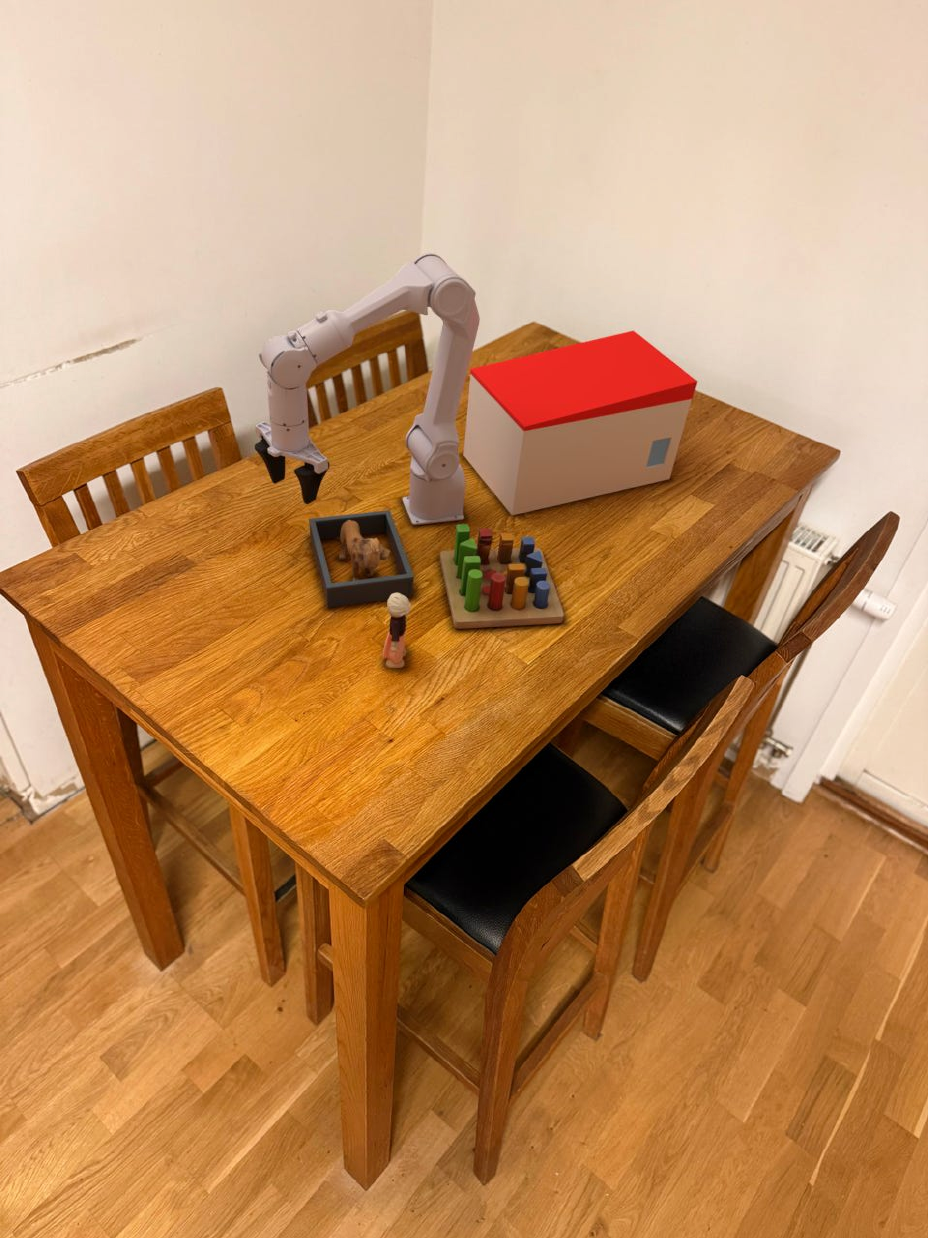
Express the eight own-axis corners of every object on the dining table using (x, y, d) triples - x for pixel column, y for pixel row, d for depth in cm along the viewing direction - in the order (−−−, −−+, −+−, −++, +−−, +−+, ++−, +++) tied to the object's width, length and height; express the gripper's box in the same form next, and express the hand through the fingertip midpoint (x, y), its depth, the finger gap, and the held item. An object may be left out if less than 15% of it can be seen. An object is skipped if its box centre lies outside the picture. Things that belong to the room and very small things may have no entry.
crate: (389, 529, 153) (389, 510, 151) (413, 596, 141) (413, 576, 138) (310, 538, 150) (308, 518, 147) (327, 608, 138) (326, 588, 135)
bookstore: (671, 478, 172) (698, 381, 157) (512, 515, 159) (526, 412, 145) (613, 424, 185) (634, 330, 170) (462, 454, 172) (471, 355, 158)
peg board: (563, 624, 139) (572, 583, 133) (454, 630, 136) (458, 588, 131) (539, 553, 152) (546, 513, 146) (439, 558, 149) (441, 517, 143)
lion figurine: (392, 586, 143) (394, 542, 137) (363, 597, 140) (363, 553, 134) (350, 536, 151) (349, 493, 145) (322, 545, 149) (320, 501, 143)
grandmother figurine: (382, 641, 133) (383, 578, 125) (407, 641, 134) (410, 578, 125) (382, 679, 128) (383, 615, 119) (409, 679, 128) (412, 615, 120)
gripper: (236, 407, 134) (245, 481, 144) (301, 445, 128) (305, 520, 137) (272, 391, 138) (278, 464, 148) (337, 428, 132) (339, 502, 141)
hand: (294, 490), depth 143 cm, fingers open, 7 cm apart
